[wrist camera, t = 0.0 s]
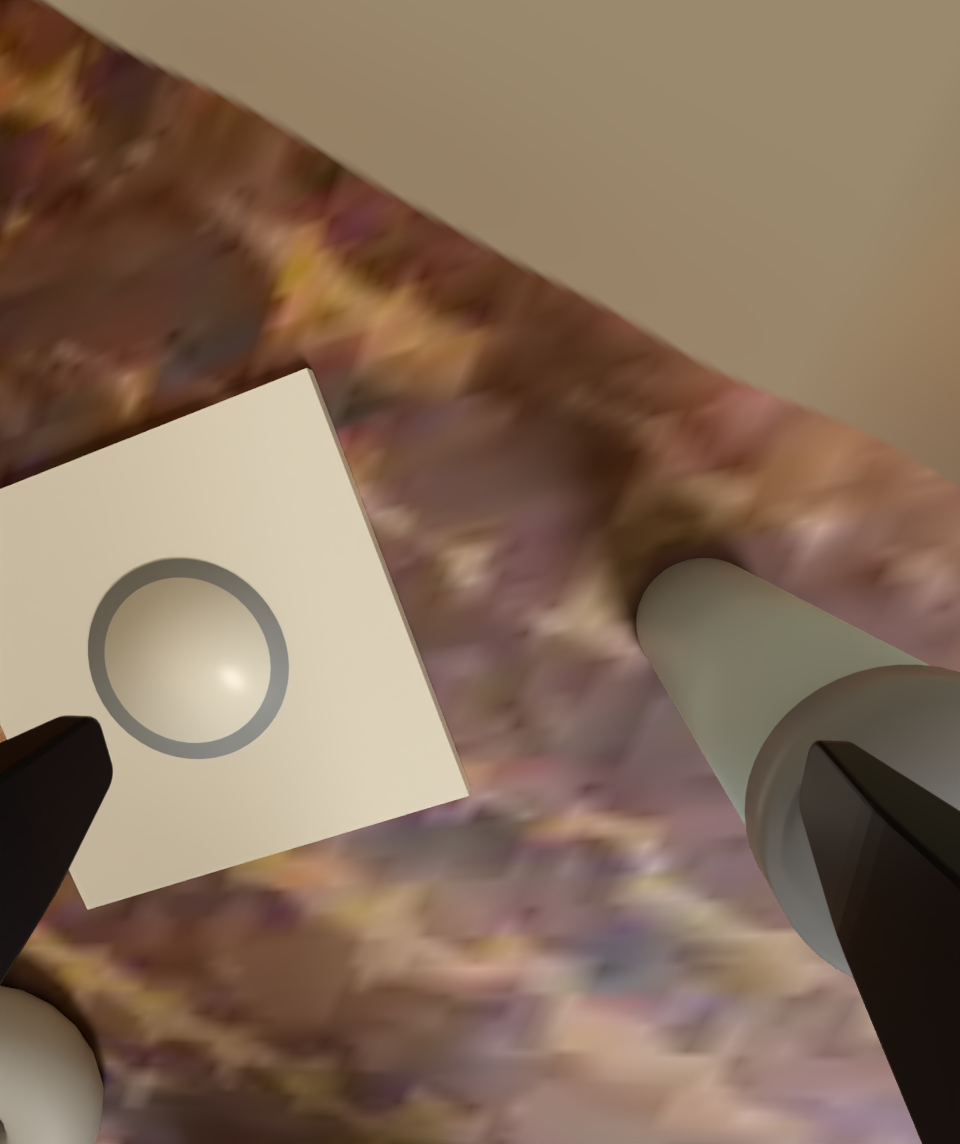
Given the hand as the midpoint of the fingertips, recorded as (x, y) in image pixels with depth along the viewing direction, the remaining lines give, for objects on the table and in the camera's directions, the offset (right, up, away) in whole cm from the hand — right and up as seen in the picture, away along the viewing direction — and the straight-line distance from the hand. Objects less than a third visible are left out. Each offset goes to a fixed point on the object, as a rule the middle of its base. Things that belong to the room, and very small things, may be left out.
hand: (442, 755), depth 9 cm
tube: (+8, +1, +15) cm, 17 cm away
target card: (-10, -1, +17) cm, 19 cm away
